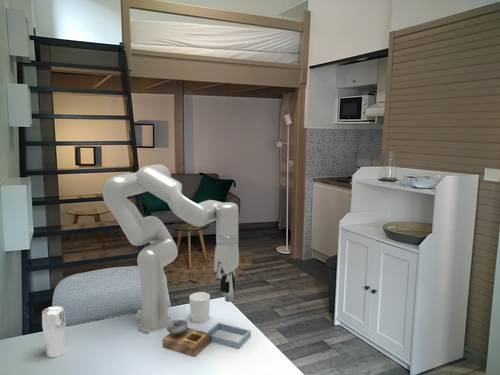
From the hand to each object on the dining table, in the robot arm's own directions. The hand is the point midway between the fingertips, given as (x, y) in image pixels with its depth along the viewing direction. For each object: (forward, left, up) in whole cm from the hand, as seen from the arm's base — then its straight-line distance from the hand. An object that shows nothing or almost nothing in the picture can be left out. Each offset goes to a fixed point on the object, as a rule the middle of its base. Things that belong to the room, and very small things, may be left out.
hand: (227, 289), depth 135 cm
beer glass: (-48, -32, -19) cm, 61 cm away
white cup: (-17, +8, -19) cm, 27 cm away
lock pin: (+1, 0, -4) cm, 4 cm away
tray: (0, 0, -19) cm, 19 cm away
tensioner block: (-11, -10, -19) cm, 24 cm away
